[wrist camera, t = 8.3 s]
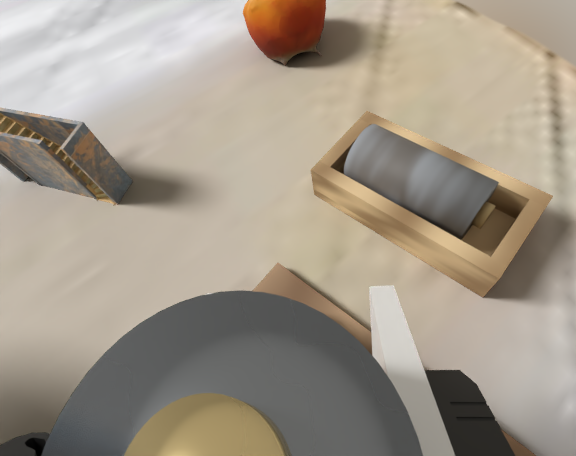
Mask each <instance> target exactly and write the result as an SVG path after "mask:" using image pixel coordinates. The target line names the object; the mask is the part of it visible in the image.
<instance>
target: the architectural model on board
mask: <svg viewBox="0 0 576 456" xmlns="http://www.w3.org/2000/svg"><path fill="white" fill-rule="evenodd" d="M0 164H1V165H2V166H4V167H5V168H6V169H7V170H9V171H10V172H11V173H13V174H14V175H15V176H16V177H18V178H19V179H20V180H21V181H25V180H26V179H27V177H28V176H29V177H30V178H31V179H32V180H34V181H35V182H36V183H37V184H39V185H40V186H42V185H43V186H47V187H51V188H55V189H59V190H63V191H67V192H71V193H75V194H79V195H83V196H87V197H91V198H94V199H97V201H98V200H101V201H105V202H109V203H113V204H114V205H115V204H117V205H118V204H119V202H120V200H121V199H122V197H123V196H124V194H125V192H126V191H127V189H128V188H129V186H130V185H131V183H132V180H131V178H130V177H129V176H128V175H127V174H126V173H125V171H124V170H123V169H122V168H121V167H120V165H119V164H118V163H117V162H116V161H115V159H114V158H113V157H112V156H111V155H110V153H109V152H108V151H107V150H106V149H105V148H104V146H103V145H102V144H101V143H100V142H99V140H98V139H97V138H96V137H95V136H94V134H93V133H92V132H91V131H90V130H89V128H88V127H87V126H86V125H85V124H84V123H83V122H79V121H73V120H67V119H62V118H56V117H50V116H45V115H39V114H33V113H28V112H22V111H16V110H11V109H5V108H0ZM114 205H113V206H114Z"/></svg>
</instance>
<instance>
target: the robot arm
mask: <svg viewBox="0 0 576 456" xmlns="http://www.w3.org/2000/svg"><path fill="white" fill-rule="evenodd" d="M207 294H212V293H206V295H207ZM369 294H370V315H371V336H372V356H373V357H374V358H375V359H376V360H377V362H378V363H379V364H380V366H381V367H382V369H383V370H384V372H385V373H386V374H387V376H388V377H389V379H390V380H391V382H392V383H393V385H394V387H395V389H396V390H397V392H398V394H399V396H400V398H401V400H402V402H403V403H404V405H405V407H406V409H407V411H408V414H409V416H410V419H411V421H412V424H413V426H414V429H415V431H416V434H417V436H418V439H419V443H420V446H421V450H422V453H423V456H515V454H514V452H513V450H512V449H511V447H510V445H509V443H508V441H507V439H506V437H505V436H504V434H503V432H502V430H501V428H500V426H499V425H498V423H497V421H495V418H494V415H493V414H492V412H491V410H490V408H489V406H487V404H486V401H485V399H484V397H483V395H482V393H481V391H480V390H479V388H478V386H477V384H476V383H474V382H473V381H472V380H471V379H470V378H468V377H467V376H466V375H465V374H464V373H462V372H461V371H460V370H424V368H423V365H422V363H421V360H420V357H419V354H418V351H417V349H416V346H415V343H414V340H413V338H412V335H411V332H410V329H409V327H408V324H407V321H406V318H405V316H404V313H403V310H402V307H401V305H400V302H399V299H398V296H397V294H396V291H395V288H394V285H391V286H369ZM49 436H50V434H48V433H30V434H27V435H23V436H19V437H16V438H14V439H12V440H10V441H8V442H6V443H4V444H2V445H0V456H41V455H42V452H43V449H44V447H45V444H46V442H47V440H48V438H49Z"/></svg>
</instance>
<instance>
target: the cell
mask: <svg viewBox="0 0 576 456" xmlns="http://www.w3.org/2000/svg"><path fill="white" fill-rule="evenodd" d="M41 456H423V453H422V450H421V446H420V443H419V439H418V436H417V434H416V431H415V429H414V426H413V424H412V421H411V419H410V416H409V414H408V411H407V409H406V407H405V405H404V403H403V402H402V400H401V398H400V396H399V394H398V392H397V390H396V389H395V387H394V385H393V383H392V382H391V380H390V379H389V377H388V376H387V374H386V373H385V372H384V370H383V369H382V367H381V366H380V364H379V363H378V362H377V360H376V359H375V358H374V357H373V356H372V355H371V354H370V353H369V351H368V350H367V349H366V348H365V347H364V346H363V345H362V344H361V342H360V341H358V340H357V339H356V338H355V337H354V336H353V335H352V334H350V333H349V332H348V331H347V330H346V329H345V328H344V327H342V326H341V325H340V324H338V323H337V322H335V321H334V320H332V319H331V318H329V317H328V316H326V315H325V314H323V313H322V312H320V311H318V310H316V309H314V308H312V307H310V306H308V305H306V304H303V303H301V302H298V301H295V300H292V299H289V298H286V297H283V296H280V295H274V294H269V293H264V292H255V291H227V292H217V293H212V294H207V295H202V296H198V297H195V298H192V299H189V300H185V301H182V302H179V303H177V304H175V305H173V306H171V307H168V308H166V309H164V310H162V311H160V312H158V313H156V314H155V315H153V316H151V317H150V318H148V319H146V320H145V321H143V322H141V323H140V324H139V325H137V326H136V327H135V328H133V329H132V330H131V331H129V332H128V333H127V334H125V335H124V336H123V337H122V338H120V339H119V340H118V341H117V342H116V343H115V344H114V345H113V346H112V347H111V348H110V349H109V350H108V351H106V352H105V353H104V355H103V356H102V357H101V358H100V359H99V360H98V361H97V362H96V364H95V365H94V366H93V367H92V368H91V369H90V370H89V371H88V373H87V374H86V375H85V377H84V378H83V380H82V381H81V382H80V384H79V385H78V386H77V388H76V389H75V391H74V392H73V393H72V395H71V397H70V398H69V400H68V402H67V403H66V405H65V407H64V408H63V410H62V412H61V413H60V415H59V417H58V419H57V421H56V423H55V425H54V427H53V429H52V431H51V433H50V436H49V438H48V440H47V442H46V444H45V447H44V449H43V452H42V455H41Z"/></svg>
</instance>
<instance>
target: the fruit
mask: <svg viewBox="0 0 576 456" xmlns="http://www.w3.org/2000/svg"><path fill="white" fill-rule="evenodd" d="M325 11H326V0H248V1H247V3H246V4H245V6H244V10H243V15H244V18H245V21H246V25H247V28H248V31H249V33H250V35H251V37H252V39H253V40H254V42H255V43H256V45H257V46H258V48H259V49H260V50H261V51H262V52H263V53H264V54H265V55H266V56H267V57H268V58H270V59H273V60H277V61H280V62H281V63H283V64H284V65H285V66H286V63H287V62H288V60H290V59H291V58H292V57H293V56H295V55H297V54H299V53H302V52H316V53H318V54H319V55H320V56H322V55H321V54H320V53H319V51H318V50H317V48H316V45H317V43H318V42H319V40H320V37H321V33H322V30H323V27H324V19H325Z"/></svg>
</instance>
